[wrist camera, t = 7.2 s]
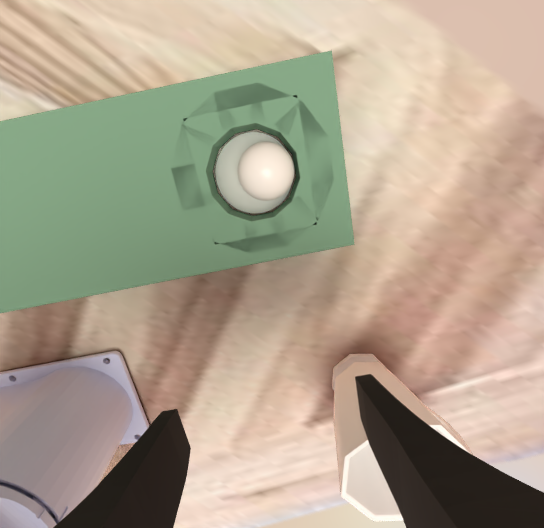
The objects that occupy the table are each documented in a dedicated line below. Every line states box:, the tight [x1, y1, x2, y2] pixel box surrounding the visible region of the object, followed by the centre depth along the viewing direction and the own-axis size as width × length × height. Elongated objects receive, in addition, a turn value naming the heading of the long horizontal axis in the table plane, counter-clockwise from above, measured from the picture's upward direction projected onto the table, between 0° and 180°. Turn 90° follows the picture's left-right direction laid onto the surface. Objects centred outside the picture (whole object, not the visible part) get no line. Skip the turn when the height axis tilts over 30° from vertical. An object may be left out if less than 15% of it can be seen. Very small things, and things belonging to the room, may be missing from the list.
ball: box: [238, 141, 295, 201], centre depth 17 cm, size 3×3×3 cm
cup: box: [332, 354, 473, 521], centre depth 20 cm, size 7×10×8 cm
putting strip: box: [0, 51, 354, 313], centre depth 18 cm, size 24×10×2 cm, turn 101°
